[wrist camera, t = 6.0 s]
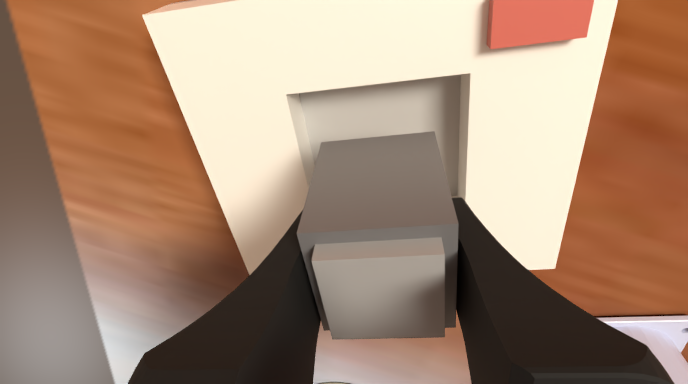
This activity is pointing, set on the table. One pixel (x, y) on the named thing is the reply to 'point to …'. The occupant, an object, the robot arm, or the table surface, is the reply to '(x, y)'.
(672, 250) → the table surface
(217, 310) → the robot arm
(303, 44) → the faceplate
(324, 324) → the plug
